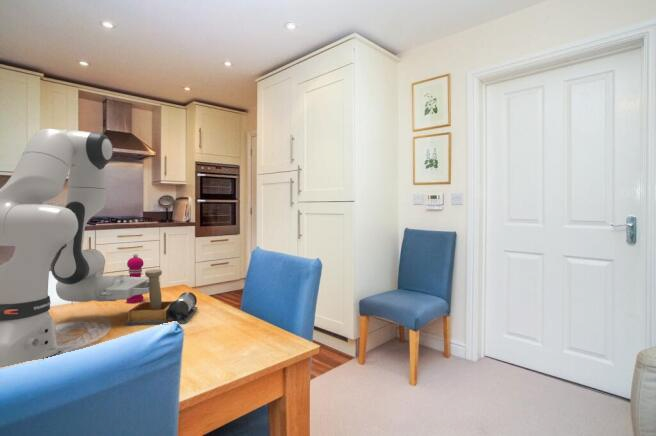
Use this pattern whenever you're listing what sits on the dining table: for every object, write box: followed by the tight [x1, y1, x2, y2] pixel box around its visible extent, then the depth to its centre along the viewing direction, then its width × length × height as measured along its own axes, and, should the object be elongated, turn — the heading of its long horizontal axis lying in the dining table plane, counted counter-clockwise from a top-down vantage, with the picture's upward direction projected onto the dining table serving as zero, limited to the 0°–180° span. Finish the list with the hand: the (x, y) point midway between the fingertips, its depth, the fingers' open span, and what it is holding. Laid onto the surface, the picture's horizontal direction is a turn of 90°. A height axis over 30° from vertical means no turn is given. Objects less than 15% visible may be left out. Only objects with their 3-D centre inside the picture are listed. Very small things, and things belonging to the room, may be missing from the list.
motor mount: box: [124, 291, 198, 327], centre depth 124 cm, size 18×19×7 cm
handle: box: [144, 269, 163, 310], centre depth 126 cm, size 5×6×15 cm
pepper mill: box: [125, 253, 145, 304], centre depth 145 cm, size 7×7×20 cm
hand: (153, 287), depth 124 cm, fingers open, 8 cm apart
